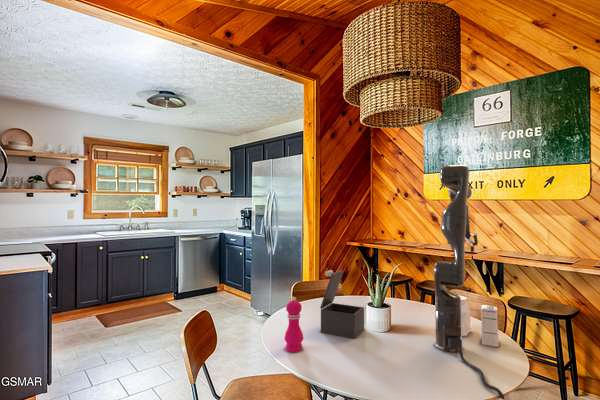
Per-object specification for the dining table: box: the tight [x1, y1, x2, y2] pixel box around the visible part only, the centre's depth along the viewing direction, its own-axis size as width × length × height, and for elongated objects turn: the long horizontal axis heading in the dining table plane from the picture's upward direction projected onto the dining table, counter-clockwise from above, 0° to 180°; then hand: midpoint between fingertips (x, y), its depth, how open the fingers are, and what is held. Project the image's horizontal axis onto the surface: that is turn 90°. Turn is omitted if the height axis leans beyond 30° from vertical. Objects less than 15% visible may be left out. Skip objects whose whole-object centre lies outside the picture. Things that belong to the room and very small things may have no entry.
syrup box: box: [480, 304, 499, 348], centre depth 139 cm, size 6×6×14 cm
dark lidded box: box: [320, 302, 365, 339], centre depth 154 cm, size 16×13×10 cm
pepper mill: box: [284, 296, 304, 353], centre depth 134 cm, size 7×7×20 cm
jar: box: [457, 294, 472, 337], centre depth 152 cm, size 12×10×15 cm
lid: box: [319, 269, 345, 310], centre depth 157 cm, size 16×13×5 cm
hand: (462, 251), depth 184 cm, fingers open, 8 cm apart
